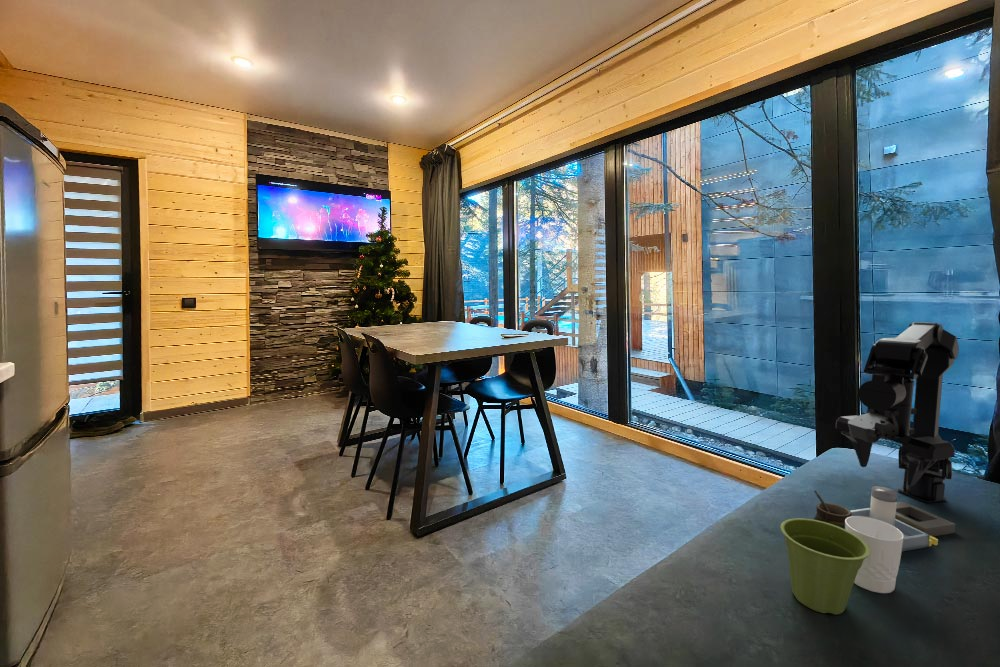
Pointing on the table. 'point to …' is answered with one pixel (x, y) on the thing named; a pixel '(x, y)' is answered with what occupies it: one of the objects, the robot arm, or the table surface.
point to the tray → (911, 534)
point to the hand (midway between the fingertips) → (886, 475)
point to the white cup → (877, 553)
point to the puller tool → (933, 541)
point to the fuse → (883, 504)
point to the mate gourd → (831, 513)
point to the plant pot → (822, 563)
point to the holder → (923, 520)
